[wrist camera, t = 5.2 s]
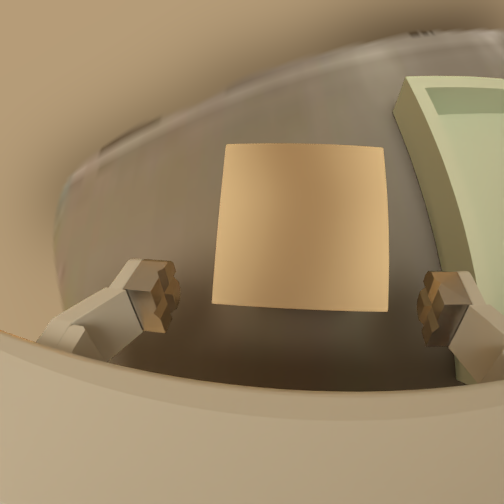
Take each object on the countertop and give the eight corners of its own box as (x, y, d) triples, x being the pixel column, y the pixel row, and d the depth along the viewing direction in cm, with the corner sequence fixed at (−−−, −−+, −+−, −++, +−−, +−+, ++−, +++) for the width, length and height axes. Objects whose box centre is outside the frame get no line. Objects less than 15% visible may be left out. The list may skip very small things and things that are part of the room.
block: (348, 221, 16) (383, 147, 8) (346, 310, 15) (387, 311, 8) (262, 218, 17) (226, 144, 9) (256, 306, 16) (211, 303, 8)
